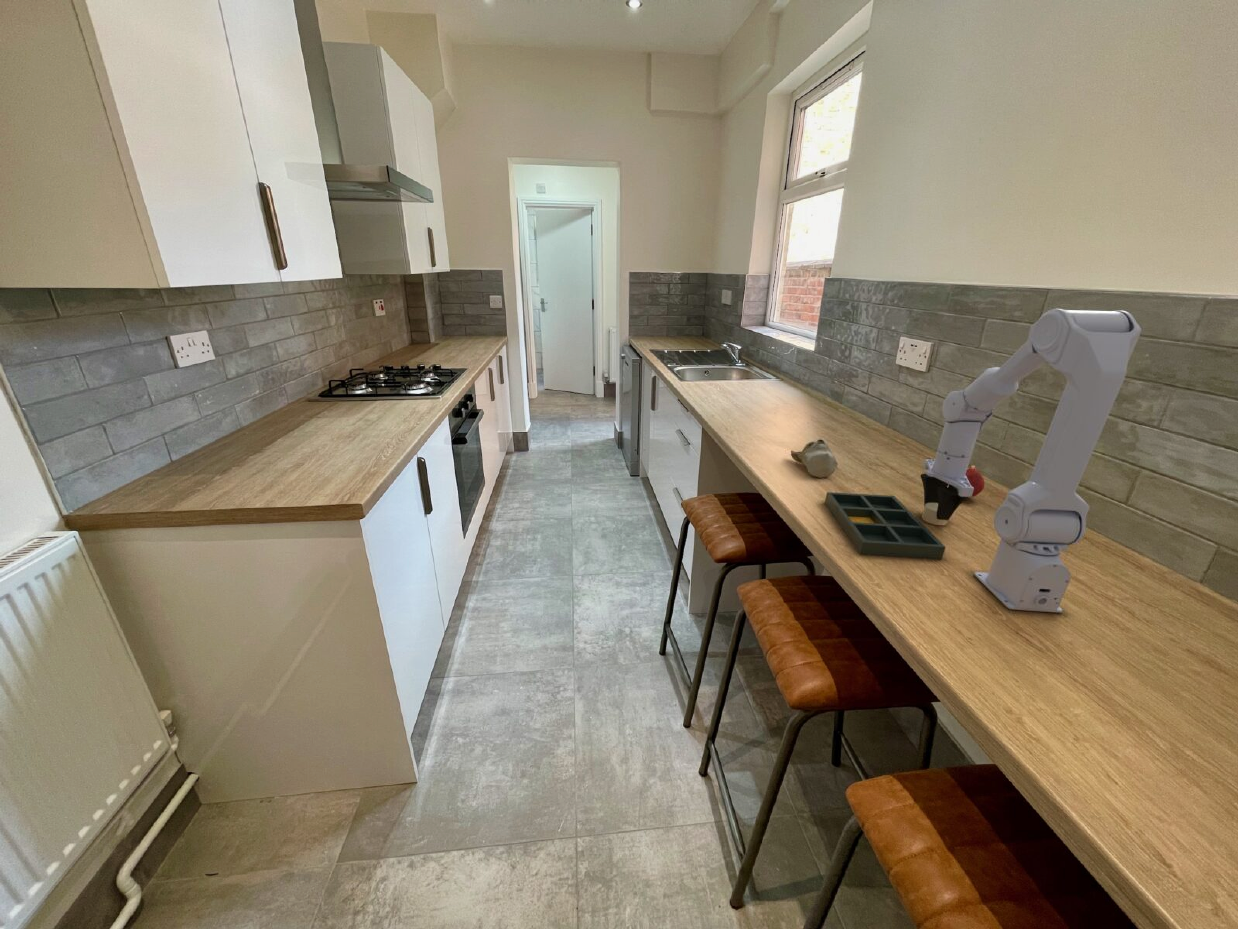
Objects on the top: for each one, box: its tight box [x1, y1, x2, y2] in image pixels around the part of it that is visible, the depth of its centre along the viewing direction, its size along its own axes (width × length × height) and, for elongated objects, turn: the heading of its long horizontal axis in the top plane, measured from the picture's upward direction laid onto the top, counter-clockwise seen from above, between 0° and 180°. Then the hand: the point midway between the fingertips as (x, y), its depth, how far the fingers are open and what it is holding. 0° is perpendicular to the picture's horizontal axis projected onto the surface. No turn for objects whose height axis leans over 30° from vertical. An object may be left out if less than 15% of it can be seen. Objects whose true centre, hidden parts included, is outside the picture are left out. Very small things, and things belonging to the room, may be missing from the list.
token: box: [921, 503, 949, 526], centre depth 102 cm, size 4×4×3 cm
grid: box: [824, 491, 946, 560], centre depth 98 cm, size 21×14×3 cm
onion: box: [966, 465, 985, 498], centre depth 111 cm, size 6×6×8 cm
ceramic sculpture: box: [790, 439, 839, 479], centre depth 125 cm, size 11×9×15 cm
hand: (936, 513), depth 102 cm, fingers closed on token, 4 cm apart
